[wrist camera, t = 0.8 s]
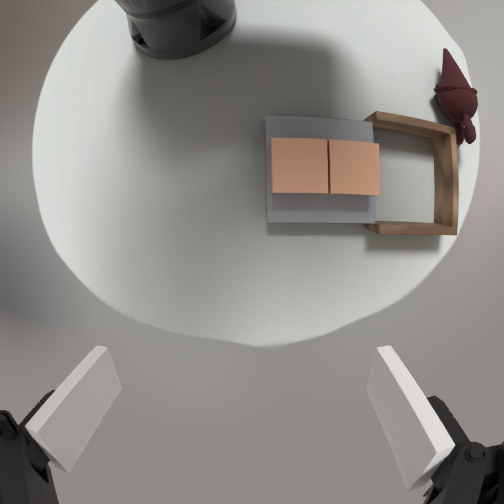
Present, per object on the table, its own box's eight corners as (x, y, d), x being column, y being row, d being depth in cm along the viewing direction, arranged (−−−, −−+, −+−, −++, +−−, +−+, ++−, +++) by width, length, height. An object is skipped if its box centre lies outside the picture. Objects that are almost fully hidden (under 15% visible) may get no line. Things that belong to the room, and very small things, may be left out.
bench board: (265, 122, 31) (265, 115, 28) (363, 127, 30) (372, 122, 27) (267, 220, 33) (267, 222, 30) (365, 220, 33) (374, 223, 30)
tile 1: (270, 143, 29) (271, 137, 25) (320, 144, 28) (326, 139, 25) (271, 192, 30) (272, 192, 27) (321, 193, 29) (328, 193, 26)
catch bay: (363, 120, 30) (376, 111, 26) (437, 132, 30) (454, 127, 25) (365, 228, 33) (379, 233, 29) (438, 230, 32) (456, 235, 28)
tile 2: (322, 144, 28) (329, 139, 25) (368, 147, 28) (379, 143, 25) (323, 193, 29) (330, 193, 26) (369, 195, 29) (380, 195, 26)
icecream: (430, 36, 21) (452, 141, 25) (473, 45, 19) (495, 146, 23) (417, 53, 27) (434, 144, 32) (456, 59, 25) (473, 147, 29)
